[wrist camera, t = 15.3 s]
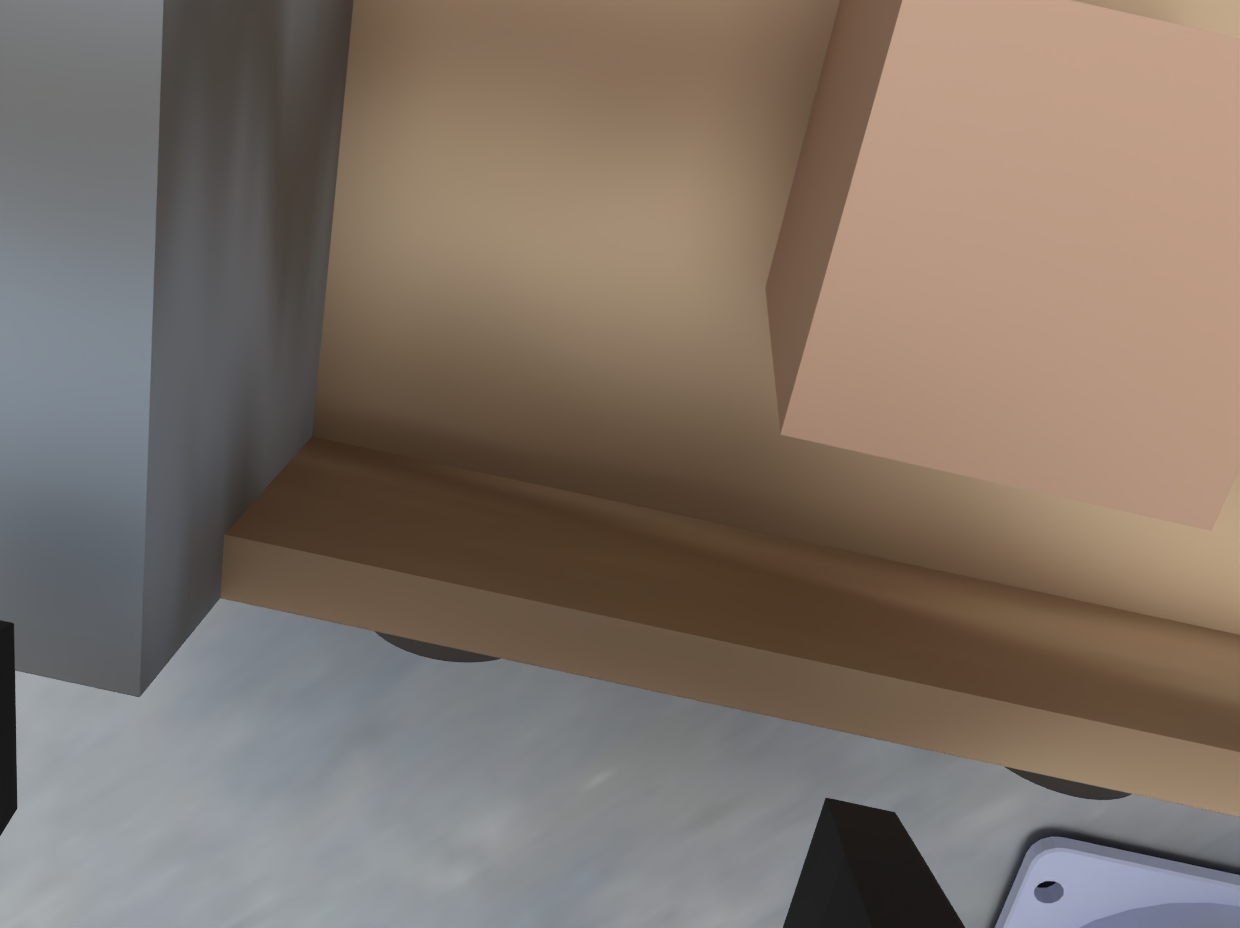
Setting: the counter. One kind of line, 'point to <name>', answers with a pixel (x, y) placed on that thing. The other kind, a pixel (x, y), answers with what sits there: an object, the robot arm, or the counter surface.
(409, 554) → the flatbed
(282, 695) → the counter surface
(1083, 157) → the tan rectangular block
